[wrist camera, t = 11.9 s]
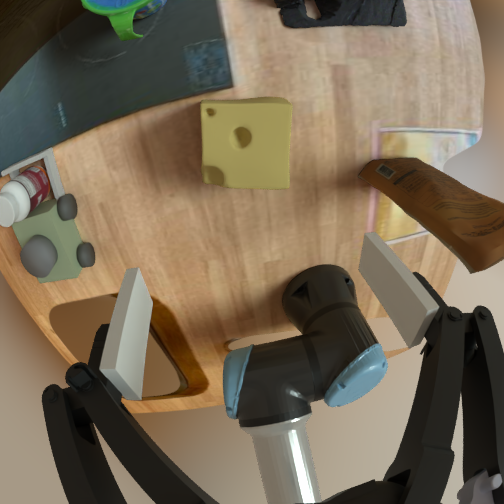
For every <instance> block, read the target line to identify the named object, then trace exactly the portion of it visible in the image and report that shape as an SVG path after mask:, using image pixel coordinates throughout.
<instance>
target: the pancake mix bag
mask: <svg viewBox="0 0 504 504" xmlns="http://www.w3.org/2000/svg"><path fill="white" fill-rule="evenodd" d="M358 177H359V178H361V179H363V180H365V181H366V182H368V183H369V184H370V185H372V186H373V187H374V188H376V189H379V190H380V191H381V192H383V193H384V194H385V195H386V196H388V197H389V198H390V199H391V200H393V201H394V202H395V203H396V204H397V205H398V206H399V207H400V208H402V210H403V211H404V212H405V213H406V214H408V215H409V216H410V217H412V218H413V219H415V220H416V221H417V222H419V223H420V224H421V225H422V226H423V227H424V228H425V229H426V230H428V231H429V232H430V233H432V234H433V235H434V236H435V237H436V238H438V239H439V240H440V241H441V242H442V243H443V244H444V245H445V246H446V247H447V248H448V249H449V250H450V251H451V252H452V253H453V254H455V255H456V256H457V257H458V258H459V259H460V260H461V262H462V263H463V264H464V265H465V266H466V268H467V269H468V270H469V272H470V274H472V273H475V272H479V271H483V270H486V269H488V268H489V267H491V266H493V265H495V264H497V263H499V262H500V261H502V260H503V259H504V203H502V202H500V201H498V200H495V199H493V198H489V197H487V196H485V195H482V194H480V193H478V192H476V191H474V190H472V189H470V188H468V187H466V186H465V185H463V184H461V183H460V182H458V181H457V180H455V179H454V178H452V177H450V176H448V175H447V174H445V173H443V172H441V171H439V170H438V169H436V168H434V167H432V166H431V165H428V164H426V163H424V162H422V161H421V160H419V159H418V158H399V159H379V160H372V161H371V162H370V163H368V164H367V165H366V167H365V168H364V169H363V170H362V172H361V173H360V175H359V176H358Z"/></svg>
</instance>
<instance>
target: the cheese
mask: <svg viewBox="0 0 504 504" xmlns="http://www.w3.org/2000/svg"><path fill="white" fill-rule="evenodd" d="M200 116H201V134H202V165H201V174H202V181H203V183H205V184H215V185H219V186H222V187H226V188H246V189H270V190H278V189H288V188H289V182H290V177H289V150H290V135H291V120H292V104H291V103H290V102H289V101H288V100H286V99H284V98H280V97H258V98H251V99H242V100H202V101H201V103H200Z"/></svg>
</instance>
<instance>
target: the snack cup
mask: <svg viewBox="0 0 504 504" xmlns="http://www.w3.org/2000/svg"><path fill="white" fill-rule="evenodd" d="M81 1H82V5H83V6H84V8H85V9H88V10H90V11H91V12H93V13H96V14H99V15H103V16H107V17H108V18H109V20H110V22H111V24H112V26H113V28H114V30H115V32H116V33H117V35H118V36H119V38H120V40H121V41H125V40H131V39H136V38H140V37H143V35H139V34H135V33H133V25H132V21H133V19H142V18H145V17H147V16H149V15H152V14H154V13H155V12H157V11H158V10H159V9H160V8H161V7H162V6H164V5H165V3H166V1H167V0H81Z"/></svg>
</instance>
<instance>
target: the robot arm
mask: <svg viewBox="0 0 504 504" xmlns="http://www.w3.org/2000/svg"><path fill="white" fill-rule="evenodd" d="M358 270H359V272H360V273H361V274H362V276H363V277H364V279H365V280H366V282H367V283H368V285H369V286H370V288H371V289H372V291H373V292H374V294H375V295H376V297H377V298H378V300H379V301H380V303H381V304H382V306H383V307H384V309H385V310H386V312H387V313H388V315H389V317H390V318H391V319H392V321H393V323H394V325H395V326H396V328H397V329H398V331H399V333H400V334H401V336H402V338H403V339H404V341H405V342H406V344H407V346H408V348H411V347H414V346H416V345H419V344H420V343H421V341H422V340H423V338H424V337H425V338H426V340H427V342H426V344H425V346H424V347H423V349H422V351H421V353H420V354H421V355H422V353H423V352H424V355H423V361H422V366H421V371H420V376H419V381H418V385H417V389H416V394H415V398H414V402H413V405H412V409H411V413H410V416H409V419H408V423H407V426H406V430H405V432H404V436H403V438H402V442H401V444H400V447H399V450H398V453H397V455H396V458H395V460H394V462H393V463H392V464H391V466H390V467H389V469H388V470H387V472H386V474H385V477H384V479H383V481H375V480H371V481H369V482H366V483H363V484H361V485H358V486H355V487H352V488H350V489H347V490H345V491H342V492H339V493H337V494H335V495H333V496H331V497H330V498H328V499H326V500H324V501H322V500H321V495H320V491H319V486H318V481H317V477H316V473H315V468H314V463H313V458H312V454H311V450H310V445H309V441H308V436H307V432H306V427H305V424H306V422H307V421H308V419H309V418H310V416H311V415H312V411H311V406H310V403H311V402H314V401H318V400H321V399H324V401H325V403H326V404H327V405H328V406H330V407H335V406H343V405H346V404H348V403H350V402H353V401H355V400H357V399H358V398H360V397H362V396H363V395H365V394H366V393H368V392H369V391H370V390H372V389H373V388H374V387H375V386H376V385H377V384H378V383H379V382H380V381H381V380H382V378H383V377H384V375H385V373H386V371H387V368H388V363H387V360H386V357H385V355H384V352H383V350H382V346H381V345H380V344H379V342H378V341H377V339H376V337H375V335H374V333H373V332H372V330H371V328H370V326H369V325H368V323H367V321H366V319H365V318H364V316H363V314H362V313H361V311H360V309H359V307H358V303H357V297H356V290H355V285H354V282H353V280H352V279H351V277H350V275H349V274H348V272H347V271H346V270H344V269H343V268H341V267H339V266H336V265H320V266H316V267H313V268H310V269H308V270H306V271H304V272H302V273H301V274H299V275H298V276H297V277H295V278H294V279H293V280H292V281H291V282H290V283H289V285H288V286H287V288H286V289H285V292H284V294H283V299H282V303H283V307H284V310H285V313H286V316H287V317H288V319H289V320H290V321H291V322H292V323H293V324H294V326H295V327H296V328H297V329H298V330H299V331H300V332H301V333H302V335H300V336H295V337H291V338H287V339H283V340H278V341H274V342H269V343H264V344H259V345H254V344H252V345H250V346H248V347H245V348H240V349H236V350H233V351H231V352H229V353H228V354H227V356H226V358H225V361H224V367H223V393H224V402H225V405H226V412H227V415H228V417H229V418H232V419H237V418H238V419H239V424H240V428H241V429H242V430H244V431H245V432H247V433H249V434H250V435H251V436H252V439H253V443H254V448H255V452H256V457H257V461H258V465H259V470H260V474H261V478H262V482H263V486H264V490H265V494H266V498H267V502H268V504H442V503H440V501H441V499H442V496H443V493H444V490H445V488H446V485H447V482H448V478H449V475H450V472H451V469H452V465H453V461H454V456H455V455H454V451H452V450H451V443H452V439H453V434H454V429H455V425H456V420H457V414H458V408H459V401H460V394H461V395H462V409H463V437H464V438H463V480H464V485H463V487H462V489H460V490H459V492H458V493H457V499H459V500H460V502H459V504H504V352H503V348H502V345H501V341H500V338H499V334H498V331H497V328H496V325H495V322H494V319H493V316H492V314H491V312H490V311H489V310H488V308H486V307H484V306H477V307H476V308H475V309H474V310H473V313H462V312H461V311H460V310H459V309H457V308H455V307H451V306H450V307H448V306H447V305H446V304H445V302H444V301H443V300H442V298H441V297H440V296H439V295H438V293H437V292H436V291H435V290H434V289H433V287H432V286H431V285H430V284H429V283H428V281H427V280H426V279H425V278H424V277H423V276H422V275H420V274H419V273H417V272H413V273H412V272H411V271H410V270H409V269H408V268H407V266H406V265H405V264H404V263H403V262H402V261H401V260H400V258H399V257H398V256H397V255H396V254H395V253H394V252H393V251H392V249H391V248H390V247H389V246H388V245H387V244H386V243H385V242H384V241H383V240H382V239H381V238H380V236H379V235H378V234H377V233H376V232H371V233H365V234H364V241H363V247H362V253H361V259H360V264H359V269H358ZM152 306H153V302H152V299H151V297H150V295H149V292H148V290H147V287H146V285H145V282H144V280H143V277H142V275H141V272H140V269H139V267H138V268H131V269H126V272H125V275H124V279H123V282H122V285H121V288H120V291H119V294H118V298H117V301H116V305H115V308H114V312H113V315H112V319H111V322H110V324H102V325H101V326H100V328H99V329H98V331H97V332H96V335H95V339H94V342H93V346H92V350H91V354H90V358H89V362H88V365H87V364H86V363H82V362H79V363H75V364H73V365H72V366H71V367H70V368H69V369H68V370H67V372H66V376H65V379H66V383H67V384H68V385H69V386H70V387H68V388H65V389H62V388H60V387H59V386H58V385H56V384H52V385H50V386H48V387H46V388H45V390H44V391H43V394H42V404H43V411H44V417H45V422H46V427H47V431H48V437H49V441H50V445H51V449H52V453H53V457H54V460H55V464H56V467H57V471H58V474H59V477H60V480H61V483H62V486H63V489H64V492H65V494H66V497H67V500H68V502H69V504H127V502H126V501H125V499H124V497H123V495H122V493H121V491H120V489H119V487H118V485H117V483H116V481H115V478H114V476H113V474H112V472H111V469H110V467H109V465H108V462H107V460H106V458H105V455H104V452H103V450H102V447H101V444H100V442H99V439H98V436H97V433H96V430H95V427H94V424H95V426H96V427H97V429H98V430H99V432H100V434H101V435H102V437H103V438H104V440H105V441H106V442H107V444H108V445H109V447H110V448H111V450H112V451H113V452H114V454H115V455H116V457H117V458H118V459H119V461H120V462H121V463H122V465H123V466H124V467H125V468H126V470H127V471H128V472H129V473H130V474H131V476H132V477H133V478H134V480H135V481H136V482H137V483H138V484H139V485H140V487H141V488H142V489H143V490H144V491H145V492H146V493H147V494H148V496H149V497H150V498H151V499H152V500H153V501H154V502H155V503H156V504H219V503H218V502H217V501H215V500H214V499H213V498H212V497H211V496H209V495H208V494H207V493H206V492H205V491H203V490H202V489H201V488H200V487H198V485H197V484H195V483H194V482H193V481H192V480H191V479H190V478H189V477H188V476H187V475H186V474H185V473H184V472H182V470H180V468H179V467H178V466H177V465H175V463H173V461H172V460H171V459H170V458H168V456H167V455H166V454H165V453H164V452H163V451H162V450H161V449H160V448H159V447H158V446H157V445H156V443H155V442H154V441H153V440H152V439H151V438H150V437H149V435H148V434H147V433H146V432H145V431H144V429H143V428H142V427H141V426H140V425H139V423H138V422H137V421H136V420H135V419H134V417H133V416H132V415H131V413H130V412H129V411H128V410H127V408H126V407H125V406H124V404H123V403H122V402H121V398H122V395H123V396H124V397H125V399H126V400H141V399H142V386H143V375H144V365H145V356H146V348H147V340H148V333H149V325H150V319H151V312H152ZM476 344H477V345H476ZM93 423H94V424H93Z"/></svg>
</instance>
